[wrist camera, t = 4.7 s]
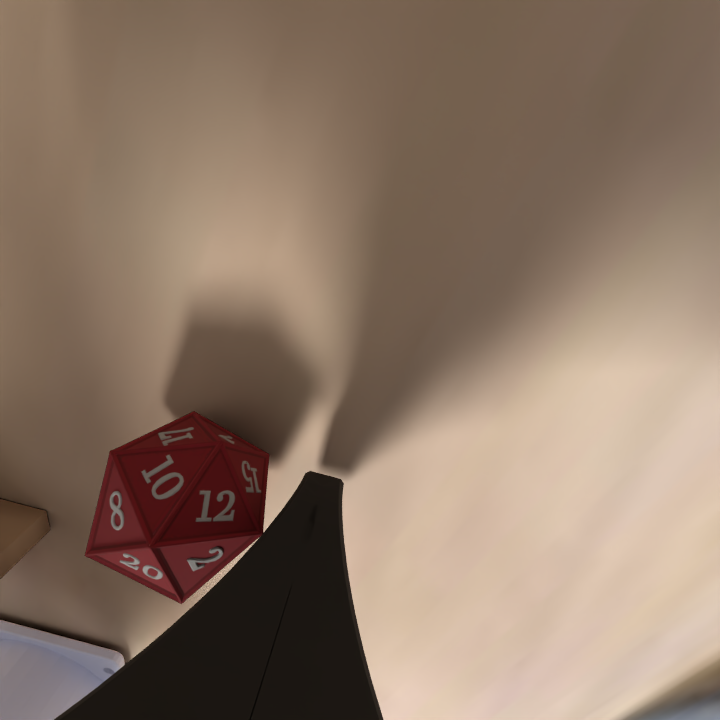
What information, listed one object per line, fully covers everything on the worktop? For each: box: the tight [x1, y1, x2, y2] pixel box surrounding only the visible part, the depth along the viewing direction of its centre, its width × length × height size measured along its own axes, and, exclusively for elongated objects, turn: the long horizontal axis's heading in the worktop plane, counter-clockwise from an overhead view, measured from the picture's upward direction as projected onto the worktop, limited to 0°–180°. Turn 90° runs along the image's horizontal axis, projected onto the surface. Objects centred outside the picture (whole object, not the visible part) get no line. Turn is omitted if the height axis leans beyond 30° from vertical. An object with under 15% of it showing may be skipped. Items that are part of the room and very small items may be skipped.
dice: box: [85, 411, 269, 604], centre depth 9 cm, size 4×4×4 cm
